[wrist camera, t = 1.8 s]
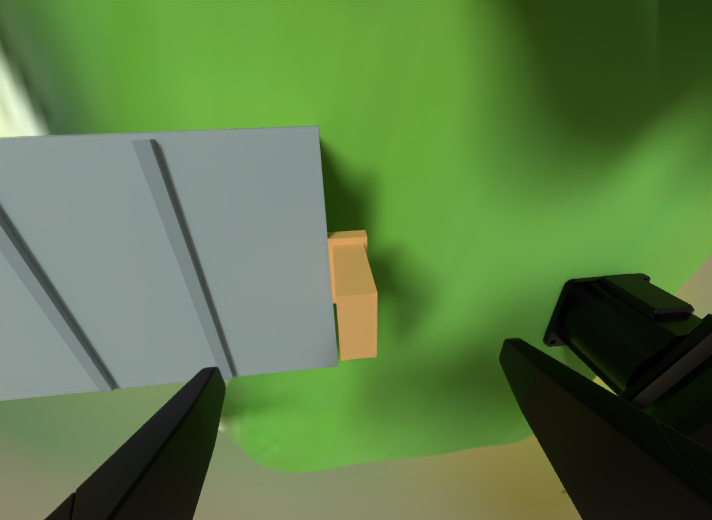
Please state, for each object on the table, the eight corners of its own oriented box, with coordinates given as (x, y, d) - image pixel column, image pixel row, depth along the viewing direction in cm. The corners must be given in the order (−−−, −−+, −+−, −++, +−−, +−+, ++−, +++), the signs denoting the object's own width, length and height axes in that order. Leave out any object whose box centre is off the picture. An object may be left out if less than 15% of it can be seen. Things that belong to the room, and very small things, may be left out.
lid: (366, 352, 17) (380, 430, 13) (4, 388, 16) (-110, 489, 12) (363, 123, 11) (387, 133, 7) (-227, 145, 10) (-640, 174, 6)
